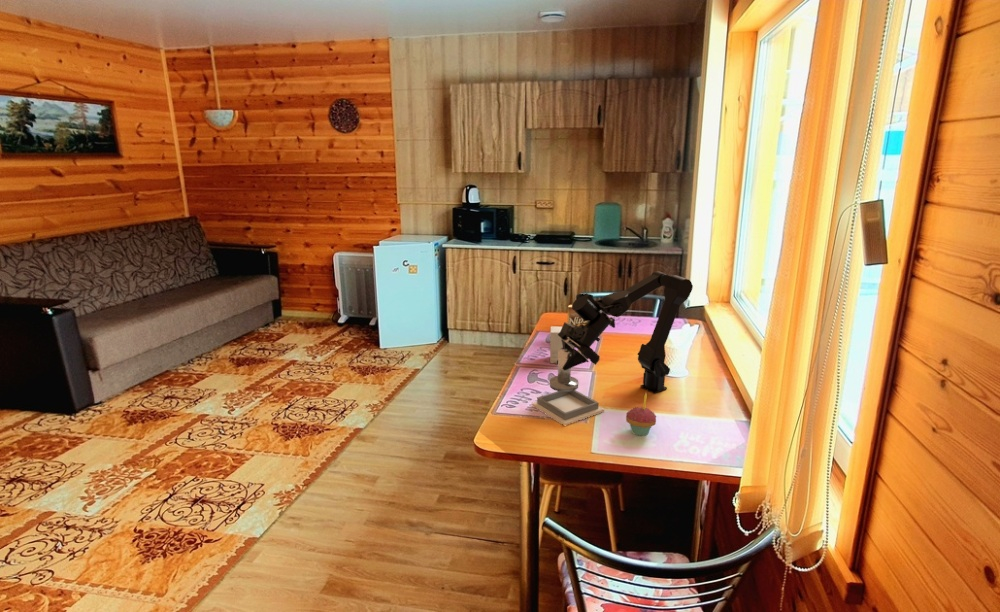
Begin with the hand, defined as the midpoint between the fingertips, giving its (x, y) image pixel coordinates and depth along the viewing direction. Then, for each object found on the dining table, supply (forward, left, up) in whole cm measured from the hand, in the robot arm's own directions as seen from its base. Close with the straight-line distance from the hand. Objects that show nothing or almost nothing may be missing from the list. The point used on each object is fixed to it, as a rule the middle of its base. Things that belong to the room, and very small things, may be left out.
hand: (560, 367), depth 172 cm
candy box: (+42, -45, -14) cm, 63 cm away
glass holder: (+51, -59, -14) cm, 79 cm away
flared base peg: (0, -1, -7) cm, 7 cm away
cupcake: (-26, -9, -14) cm, 31 cm away
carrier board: (-3, -1, -13) cm, 14 cm away
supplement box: (+30, -25, -14) cm, 41 cm away
